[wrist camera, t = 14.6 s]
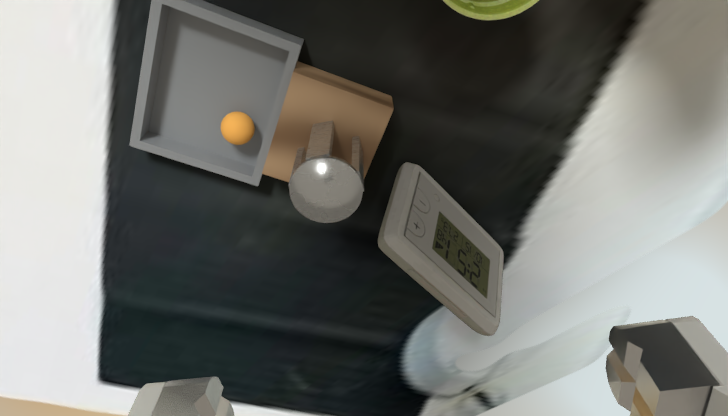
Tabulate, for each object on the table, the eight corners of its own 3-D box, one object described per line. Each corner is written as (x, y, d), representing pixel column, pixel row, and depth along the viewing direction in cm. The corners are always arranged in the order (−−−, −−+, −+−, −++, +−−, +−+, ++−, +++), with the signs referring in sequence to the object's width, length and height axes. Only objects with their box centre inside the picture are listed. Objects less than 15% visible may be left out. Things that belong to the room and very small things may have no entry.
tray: (164, -15, 40) (153, -11, 38) (304, 39, 43) (301, 45, 40) (139, 135, 47) (129, 145, 45) (262, 174, 49) (258, 186, 47)
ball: (228, 103, 43) (261, 117, 44) (226, 109, 46) (257, 122, 47) (216, 134, 43) (249, 148, 44) (215, 139, 46) (245, 151, 47)
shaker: (354, 115, 43) (353, 151, 36) (367, 172, 45) (369, 215, 39) (291, 128, 43) (280, 166, 37) (308, 184, 46) (300, 228, 39)
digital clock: (505, 254, 55) (535, 321, 46) (434, 288, 57) (448, 359, 48) (437, 139, 48) (456, 192, 39) (358, 183, 50) (359, 243, 41)
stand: (297, 60, 44) (293, 71, 41) (391, 96, 45) (393, 108, 42) (267, 157, 48) (261, 173, 45) (353, 185, 50) (353, 203, 47)
